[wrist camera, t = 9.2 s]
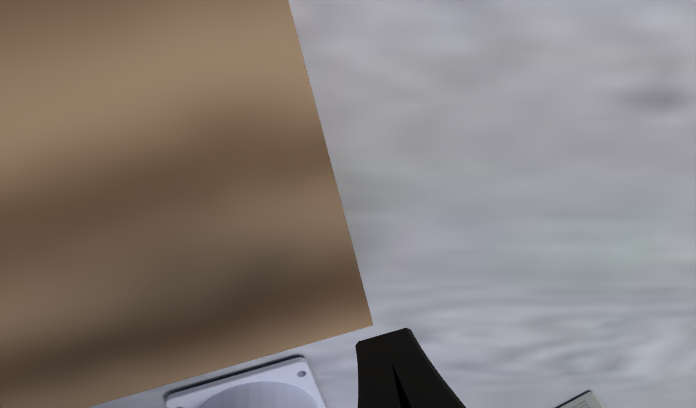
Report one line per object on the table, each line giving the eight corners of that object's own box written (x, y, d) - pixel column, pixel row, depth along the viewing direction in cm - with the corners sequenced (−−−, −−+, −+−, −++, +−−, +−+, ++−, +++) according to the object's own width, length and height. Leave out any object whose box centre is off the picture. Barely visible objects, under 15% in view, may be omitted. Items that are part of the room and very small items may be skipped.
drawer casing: (360, 280, 22) (373, 325, 20) (50, 368, 22) (23, 425, 19) (239, -174, 12) (235, -201, 10) (-337, -34, 12) (-497, -25, 9)
